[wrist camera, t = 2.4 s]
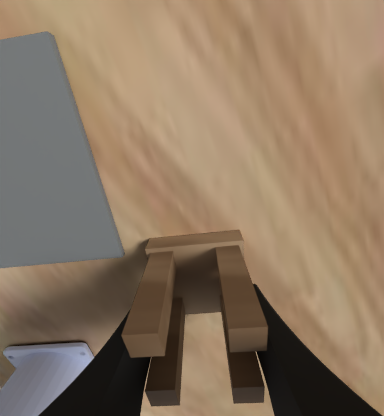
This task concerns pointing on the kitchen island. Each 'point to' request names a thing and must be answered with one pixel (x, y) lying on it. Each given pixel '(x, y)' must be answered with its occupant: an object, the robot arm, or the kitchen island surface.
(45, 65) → the mat
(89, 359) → the robot arm
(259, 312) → the stool
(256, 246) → the kitchen island surface
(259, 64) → the kitchen island surface
